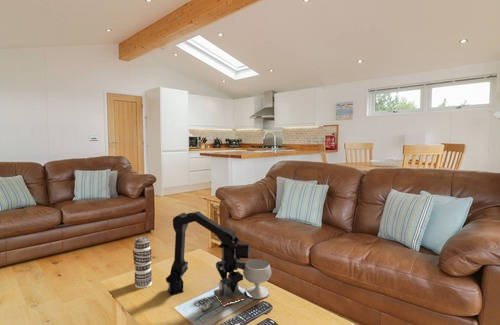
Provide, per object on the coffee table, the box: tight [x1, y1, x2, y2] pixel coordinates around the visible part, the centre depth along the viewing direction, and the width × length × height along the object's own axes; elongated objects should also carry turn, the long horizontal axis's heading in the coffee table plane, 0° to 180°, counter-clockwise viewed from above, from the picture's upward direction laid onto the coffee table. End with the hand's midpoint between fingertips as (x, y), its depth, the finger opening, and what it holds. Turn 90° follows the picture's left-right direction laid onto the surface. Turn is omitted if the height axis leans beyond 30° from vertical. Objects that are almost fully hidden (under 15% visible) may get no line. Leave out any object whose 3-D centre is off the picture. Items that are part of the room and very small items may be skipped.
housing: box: [218, 277, 239, 297], centre depth 140 cm, size 10×5×6 cm, turn 119°
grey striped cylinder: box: [132, 236, 153, 289], centre depth 152 cm, size 9×9×25 cm
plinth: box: [213, 288, 246, 305], centre depth 140 cm, size 11×11×3 cm
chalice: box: [242, 258, 272, 300], centre depth 144 cm, size 14×14×15 cm
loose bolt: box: [200, 301, 214, 312], centre depth 131 cm, size 6×3×3 cm, turn 149°
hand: (229, 287), depth 140 cm, fingers open, 9 cm apart
